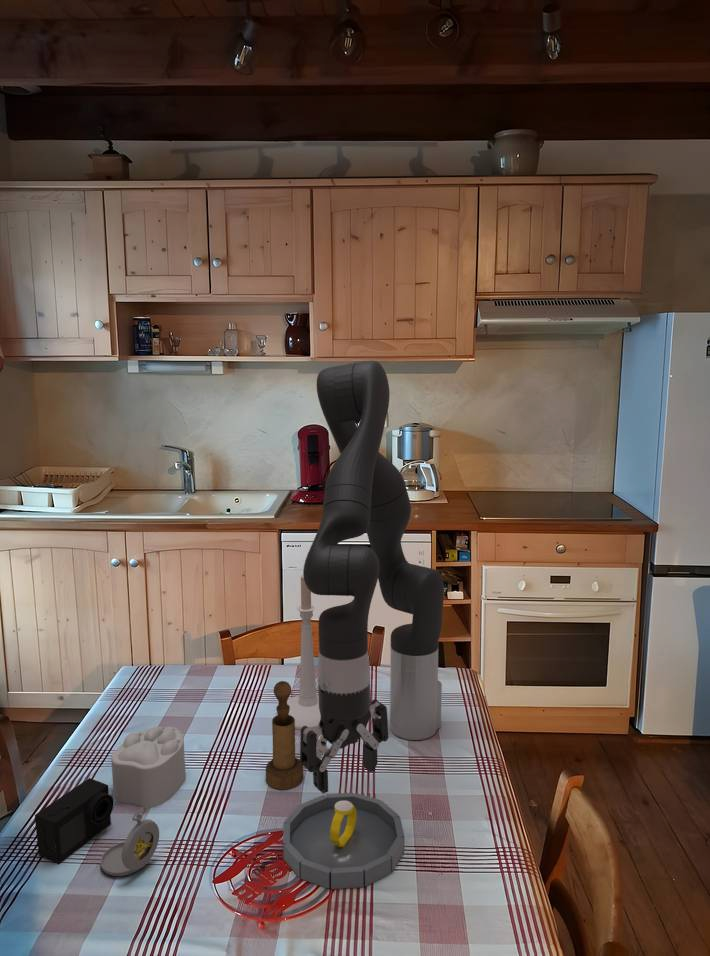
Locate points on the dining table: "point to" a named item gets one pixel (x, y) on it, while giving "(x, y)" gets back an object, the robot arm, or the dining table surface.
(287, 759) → the mortar and pestle
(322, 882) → the round dish
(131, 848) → the pocket watch
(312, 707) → the candlestick
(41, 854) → the digital camera
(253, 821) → the dining table surface
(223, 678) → the dining table surface
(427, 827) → the dining table surface
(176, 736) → the lumpy-topped squat cylinder
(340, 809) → the watch
